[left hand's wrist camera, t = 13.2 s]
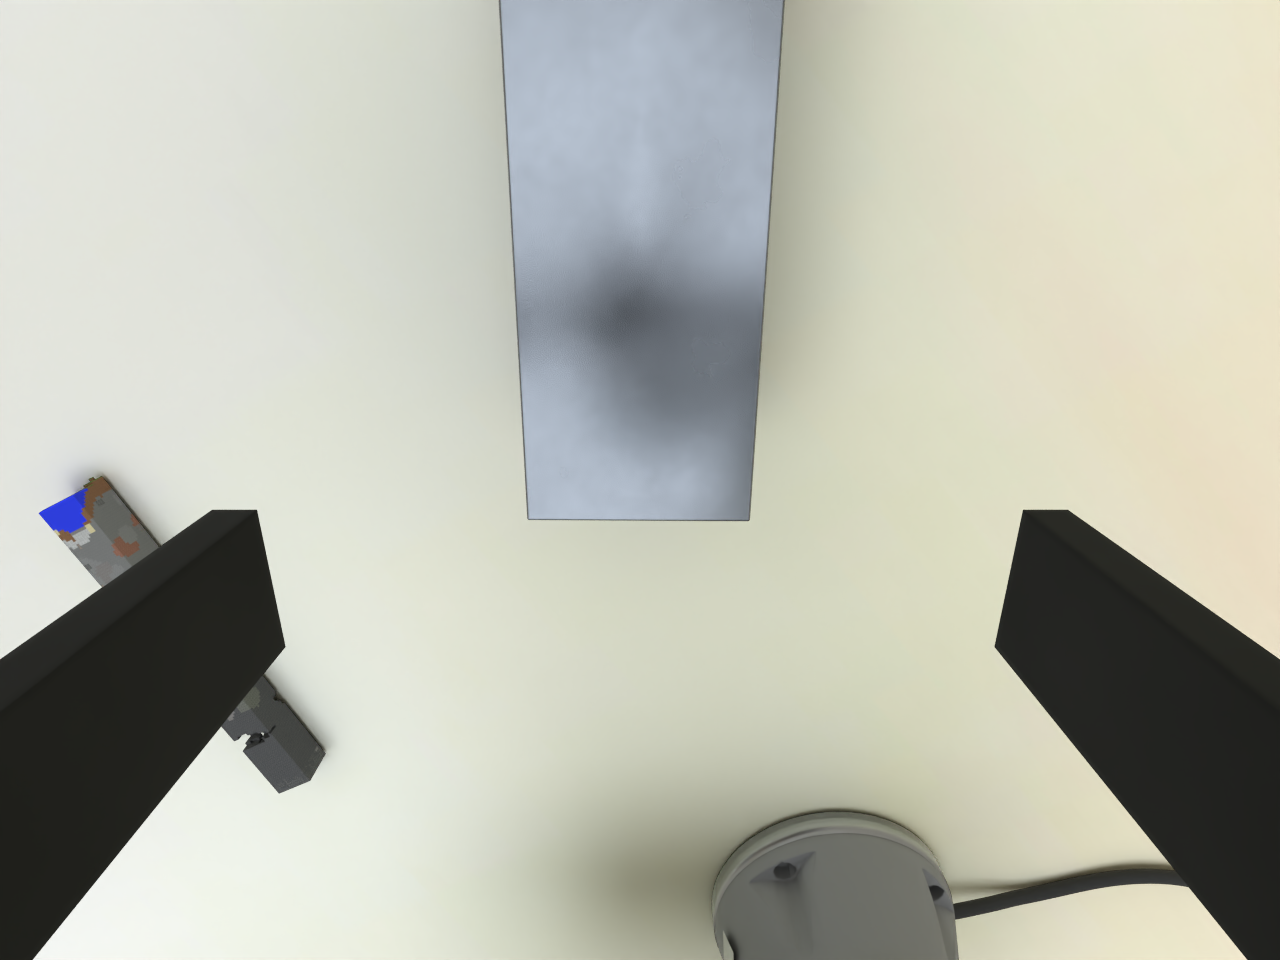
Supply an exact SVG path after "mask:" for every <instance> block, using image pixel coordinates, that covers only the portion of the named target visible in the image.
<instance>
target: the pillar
mask: <svg viewBox="0 0 1280 960" xmlns="http://www.w3.org/2000/svg"><path fill="white" fill-rule="evenodd" d="M89 480H90V482H89V483H88V484H86V485H84V487H85V488H84V489H83V490H81V491H79V492H77V493H75V494H73V495H71V496H70V497H68V498H66V499H64V500H62V501H60V502H58V503H56V504H54V505H52V506H50V507H48V508H47V509H45V510H43V511H41V512H40V513H39V514H40V515H41V517H42V518H43V519H44V520H45V521H46V522H47V524H48V525H49V526H50V527H51V528H52V529H53V531H54V532H55V533H56V534H57V535H58V536H59V538H60V539H61V540H62V541H63V542H64V543H65V545H66V546H67V547H68V548H69V549H70V550H71V552H72V553H73V554H74V555H75V556H76V557H77V559H78V560H79V561H80V562H81V563H82V564H83V566H84V567H85V568H86V569H87V570H88V571H89V572H90V574H91V575H92V576H93V577H94V578H95V579H96V581H97V582H98V583H99V584H100V585H101V586H102V587H104V586H105V585H106V584H108V583H109V582H111V581H112V580H114V579H115V578H116V577H118V576H119V575H121V574H122V573H123V572H125V571H126V570H128V569H129V568H131V567H132V566H133V565H135V564H136V563H138V562H139V561H140V560H142V559H143V558H145V557H146V556H148V555H149V554H150V553H152V552H153V551H155V550H156V549H157V548H159V546H158V545H157V544H156V543H155V541H154V540H153V539H152V538H151V536H150V535H149V534H148V533H147V531H146V530H145V529H144V528H143V527H142V525H141V524H140V523H139V522H138V520H137V519H136V518H135V517H134V515H133V514H132V513H131V512H130V510H129V509H128V508H127V507H126V505H125V504H124V503H123V502H122V500H121V499H120V498H119V497H118V496H117V494H116V493H115V492H114V491H113V489H112V488H111V487H110V486H109V484H108V483H107V482H106V481H105V479H104V478H103V477H102V476H101V477H99V478H97V479H94V477H92V478H90V479H89ZM275 693H276V691H275V690H274V689H273V688H272V686H271V685H270V684H269V683H268V681H267V680H266V679H265V678H264V677H263V675H262V676H261V678H260V679H259V680H258V681H257V683H256V684H255V685H254V686H253V688H252V689H251V690H250V691H249V693H248V694H247V695H246V696H245V697H244V699H243V700H242V701H241V702H240V704H239V705H238V706H237V707H236V709H235V710H234V711H233V712H232V714H231V715H230V716H229V717H228V719H227V720H226V721H225V722H224V723H223V725H222V728H223V729H224V730H225V731H226V732H227V733H228V735H229V736H230V737H231V738H232V739H233V740H234V741H236V740H238V739H239V738H240V737H241V736H242V735H244V734H247V735H251V736H250V738H249V739H248V740H247V742H246V743H245V744H246V745H247V746H246V747H245V749H244V750H243V752H244V753H245V754H246V756H247V757H248V758H249V759H250V760H251V761H252V763H253V764H254V765H255V766H256V767H257V768H258V770H259V771H260V772H261V773H262V774H263V775H264V777H265V778H266V779H267V780H268V781H269V782H270V784H271V785H272V786H273V787H274V788H275V789H276V791H277V792H278V793H282V792H284V791H286V790H289V789H291V788H294V787H296V786H299V785H301V784H303V783H306V782H308V781H310V780H311V778H312V777H313V775H314V773H315V771H316V770H317V768H318V766H319V764H320V763H321V761H322V759H323V757H324V756H325V754H326V753H325V752H324V751H323V750H322V748H321V747H320V746H319V745H318V743H317V742H316V741H315V740H314V739H313V737H312V736H311V735H310V734H309V732H308V731H307V730H306V729H305V727H304V726H303V725H302V724H301V722H300V721H299V720H298V719H297V717H296V716H295V715H294V714H293V712H292V711H291V710H290V709H289V708H288V706H287V705H286V704H285V703H284V702H283V703H282V702H281V701H280V700H279V701H278V700H274V699H273V698H274V697H275ZM261 732H263V733H264V735H262V734H261ZM262 738H263V739H262Z"/></svg>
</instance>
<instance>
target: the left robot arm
mask: <svg viewBox="0 0 1280 960" xmlns="http://www.w3.org/2000/svg"><path fill="white" fill-rule="evenodd" d="M284 648H285V642H284V638H283V633H282V628H281V623H280V618H279V614H278V609H277V604H276V599H275V594H274V590H273V585H272V580H271V575H270V570H269V566H268V561H267V556H266V551H265V546H264V542H263V537H262V532H261V527H260V523H259V518H258V513H257V510H211V511H210V512H208V513H207V514H206V515H204V516H203V517H201V518H200V519H199V520H197V521H196V522H194V523H193V524H191V525H190V526H189V527H187V528H186V529H184V530H183V531H182V532H180V533H179V534H177V535H176V536H174V537H173V538H172V539H170V540H169V541H167V542H166V543H165V544H163V545H162V546H160V547H159V548H157V549H156V550H155V551H153V552H152V553H150V554H149V555H148V556H146V557H145V558H143V559H142V560H140V561H139V562H138V563H136V564H135V565H133V566H132V567H131V568H129V569H128V570H126V571H125V572H123V573H122V574H121V575H119V576H118V577H116V578H115V579H114V580H112V581H111V582H109V583H108V584H106V585H105V586H104V587H102V588H101V589H99V590H98V591H96V592H95V593H94V594H92V595H91V596H89V597H88V598H87V599H85V600H84V601H82V602H81V603H79V604H78V605H77V606H75V607H74V608H72V609H71V610H70V611H68V612H67V613H65V614H64V615H62V616H61V617H60V618H58V619H57V620H55V621H54V622H53V623H51V624H50V625H48V626H47V627H45V628H44V629H43V630H41V631H40V632H38V633H37V634H36V635H34V636H33V637H31V638H30V639H28V640H27V641H26V642H24V643H23V644H21V645H20V646H19V647H17V648H16V649H14V650H13V651H11V652H10V653H9V654H7V655H6V656H4V657H3V658H2V659H0V960H33V959H34V957H35V956H36V955H37V954H38V952H39V951H40V950H41V949H42V947H43V946H44V945H45V944H46V943H47V941H48V940H49V939H50V938H51V936H52V935H53V934H54V933H55V931H56V930H57V929H58V928H59V926H60V925H61V924H62V923H63V921H64V920H65V919H66V918H67V917H68V915H69V914H70V913H71V912H72V910H73V909H74V908H75V907H76V905H77V904H78V903H79V902H80V900H81V899H82V898H83V897H84V895H85V894H86V893H87V892H88V891H89V889H90V888H91V887H92V886H93V884H94V883H95V882H96V881H97V879H98V878H99V877H100V876H101V874H102V873H103V872H104V871H105V869H106V868H107V867H108V866H109V865H110V863H111V862H112V861H113V860H114V858H115V857H116V856H117V855H118V853H119V852H120V851H121V850H122V848H123V847H124V846H125V845H126V844H127V842H128V841H129V840H130V839H131V837H132V836H133V835H134V834H135V832H136V831H137V830H138V829H139V827H140V826H141V825H142V824H143V822H144V821H145V820H146V819H147V818H148V816H149V815H150V814H151V813H152V811H153V810H154V809H155V808H156V806H157V805H158V804H159V803H160V801H161V800H162V799H163V798H164V796H165V795H166V794H167V793H168V792H169V790H170V789H171V788H172V787H173V785H174V784H175V783H176V782H177V780H178V779H179V778H180V777H181V775H182V774H183V773H184V772H185V770H186V769H187V768H188V767H189V766H190V764H191V763H192V762H193V761H194V759H195V758H196V757H197V756H198V754H199V753H200V752H201V751H202V749H203V748H204V747H205V746H206V745H207V743H208V742H209V741H210V740H211V738H212V737H213V736H214V735H215V733H216V732H217V731H218V730H219V728H220V727H221V726H222V725H223V723H224V722H225V721H226V720H227V719H228V717H229V716H230V715H231V714H232V712H233V711H234V710H235V709H236V707H237V706H238V705H239V704H240V702H241V701H242V700H243V699H244V697H245V696H246V695H247V694H248V693H249V691H250V690H251V689H252V688H253V686H254V685H255V684H256V683H257V681H258V680H259V679H260V678H261V676H262V675H263V674H264V673H265V672H266V670H267V669H268V668H269V667H270V665H271V664H272V663H273V662H274V660H275V659H276V658H277V657H278V655H279V654H280V653H281V652H282V650H283V649H284ZM995 648H996V649H997V650H998V652H999V653H1000V654H1001V655H1002V657H1003V658H1004V659H1005V660H1006V662H1007V663H1008V664H1009V665H1010V667H1011V668H1012V669H1013V670H1014V672H1015V673H1016V674H1017V675H1018V676H1019V678H1020V679H1021V680H1022V681H1023V683H1024V684H1025V685H1026V686H1027V688H1028V689H1029V690H1030V691H1031V693H1032V694H1033V695H1034V696H1035V697H1036V699H1037V700H1038V701H1039V702H1040V704H1041V705H1042V706H1043V707H1044V709H1045V710H1046V711H1047V712H1048V714H1049V715H1050V716H1051V717H1052V719H1053V720H1054V721H1055V722H1056V723H1057V725H1058V726H1059V727H1060V728H1061V730H1062V731H1063V732H1064V733H1065V735H1066V736H1067V737H1068V738H1069V740H1070V741H1071V742H1072V743H1073V745H1074V746H1075V747H1076V748H1077V749H1078V751H1079V752H1080V753H1081V754H1082V756H1083V757H1084V758H1085V759H1086V761H1087V762H1088V763H1089V764H1090V766H1091V767H1092V768H1093V769H1094V771H1095V772H1096V773H1097V774H1098V775H1099V777H1100V778H1101V779H1102V780H1103V782H1104V783H1105V784H1106V785H1107V787H1108V788H1109V789H1110V790H1111V792H1112V793H1113V794H1114V795H1115V796H1116V798H1117V799H1118V800H1119V801H1120V803H1121V804H1122V805H1123V806H1124V808H1125V809H1126V810H1127V811H1128V813H1129V814H1130V815H1131V816H1132V818H1133V819H1134V820H1135V821H1136V822H1137V824H1138V825H1139V826H1140V827H1141V829H1142V830H1143V831H1144V832H1145V834H1146V835H1147V836H1148V837H1149V839H1150V840H1151V841H1152V842H1153V844H1154V845H1155V846H1156V847H1157V848H1158V850H1159V851H1160V852H1161V853H1162V855H1163V856H1164V857H1165V858H1166V860H1167V861H1168V862H1169V863H1170V865H1171V866H1172V867H1173V868H1174V869H1175V871H1172V870H1162V869H1127V870H1115V871H1107V872H1100V873H1094V874H1088V875H1083V876H1078V877H1074V878H1069V879H1065V880H1060V881H1056V882H1052V883H1047V884H1043V885H1038V886H1034V887H1029V888H1024V889H1019V890H1014V891H1010V892H1005V893H1001V894H997V895H993V896H989V897H984V898H980V899H975V900H970V901H965V902H961V903H956V904H953V902H952V896H951V892H950V889H949V887H948V884H947V882H946V880H945V877H944V875H943V873H942V871H941V869H940V866H939V864H938V862H937V860H936V858H935V857H934V855H933V853H932V852H931V851H930V849H929V848H928V847H927V845H926V844H925V843H924V842H923V841H922V840H921V839H919V838H918V837H917V836H916V835H914V834H913V833H912V832H910V831H908V830H907V829H905V828H904V827H902V826H900V825H898V824H896V823H893V822H891V821H888V820H886V819H883V818H879V817H876V816H872V815H867V814H862V813H853V812H823V813H814V814H809V815H804V816H800V817H796V818H792V819H789V820H786V821H783V822H780V823H778V824H776V825H773V826H771V827H769V828H767V829H765V830H763V831H761V832H760V833H758V834H756V835H755V836H753V837H752V838H750V839H749V840H748V841H746V842H745V843H744V844H743V845H741V846H740V847H739V848H738V849H737V850H736V851H735V852H734V853H733V854H732V855H731V857H730V858H729V859H728V860H727V862H726V863H725V864H724V866H723V867H722V869H721V871H720V873H719V875H718V877H717V879H716V882H715V885H714V889H713V894H712V913H713V923H714V932H715V938H716V942H717V945H718V948H719V950H720V953H721V956H722V958H723V960H959V957H958V946H957V935H956V925H955V920H956V919H961V918H965V917H970V916H975V915H980V914H985V913H989V912H993V911H998V910H1002V909H1006V908H1010V907H1014V906H1018V905H1023V904H1028V903H1033V902H1037V901H1042V900H1047V899H1051V898H1056V897H1060V896H1065V895H1069V894H1073V893H1078V892H1083V891H1087V890H1093V889H1098V888H1104V887H1110V886H1118V885H1128V884H1171V885H1179V886H1186V887H1189V888H1190V889H1191V891H1192V892H1193V893H1194V894H1195V895H1196V897H1197V898H1198V899H1199V900H1200V902H1201V903H1202V904H1203V905H1204V907H1205V908H1206V909H1207V910H1208V912H1209V913H1210V914H1211V915H1212V917H1213V918H1214V919H1215V920H1216V921H1217V923H1218V924H1219V925H1220V926H1221V928H1222V929H1223V930H1224V931H1225V933H1226V934H1227V935H1228V936H1229V938H1230V939H1231V940H1232V941H1233V943H1234V944H1235V945H1236V946H1237V947H1238V949H1239V950H1240V951H1241V952H1242V954H1243V955H1244V956H1245V957H1246V959H1247V960H1280V659H1278V658H1277V657H1276V656H1274V655H1273V654H1271V653H1270V652H1269V651H1267V650H1266V649H1264V648H1263V647H1261V646H1260V645H1259V644H1257V643H1256V642H1254V641H1253V640H1252V639H1250V638H1249V637H1247V636H1246V635H1244V634H1243V633H1242V632H1240V631H1239V630H1237V629H1236V628H1235V627H1233V626H1232V625H1230V624H1229V623H1227V622H1226V621H1225V620H1223V619H1222V618H1220V617H1219V616H1218V615H1216V614H1215V613H1213V612H1212V611H1210V610H1209V609H1208V608H1206V607H1205V606H1203V605H1202V604H1201V603H1199V602H1198V601H1196V600H1195V599H1193V598H1192V597H1191V596H1189V595H1188V594H1186V593H1185V592H1184V591H1182V590H1181V589H1179V588H1178V587H1176V586H1175V585H1174V584H1172V583H1171V582H1169V581H1168V580H1166V579H1165V578H1164V577H1162V576H1161V575H1159V574H1158V573H1157V572H1155V571H1154V570H1152V569H1151V568H1149V567H1148V566H1147V565H1145V564H1144V563H1142V562H1141V561H1140V560H1138V559H1137V558H1135V557H1134V556H1132V555H1131V554H1130V553H1128V552H1127V551H1125V550H1124V549H1123V548H1121V547H1120V546H1118V545H1117V544H1115V543H1114V542H1113V541H1111V540H1110V539H1108V538H1107V537H1106V536H1104V535H1103V534H1101V533H1100V532H1098V531H1097V530H1096V529H1094V528H1093V527H1091V526H1090V525H1089V524H1087V523H1086V522H1084V521H1083V520H1081V519H1080V518H1079V517H1077V516H1076V515H1074V514H1073V513H1072V512H1070V511H1069V510H1023V513H1022V518H1021V523H1020V527H1019V532H1018V537H1017V542H1016V546H1015V551H1014V556H1013V561H1012V566H1011V570H1010V575H1009V580H1008V585H1007V590H1006V594H1005V599H1004V604H1003V609H1002V614H1001V618H1000V623H999V628H998V633H997V638H996V642H995Z"/></svg>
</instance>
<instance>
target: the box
mask: <svg viewBox="0 0 1280 960" xmlns="http://www.w3.org/2000/svg"><path fill="white" fill-rule="evenodd" d="M784 5H785V0H499V13H500V31H501V49H502V68H503V86H504V104H505V122H506V140H507V158H508V176H509V194H510V212H511V230H512V248H513V267H514V285H515V303H516V321H517V339H518V357H519V375H520V393H521V411H522V429H523V447H524V466H525V484H526V502H527V518H528V520H654V521H749V520H750V510H751V495H752V480H753V465H754V451H755V436H756V421H757V406H758V391H759V376H760V361H761V347H762V332H763V317H764V302H765V287H766V272H767V258H768V243H769V228H770V213H771V198H772V183H773V168H774V154H775V139H776V124H777V109H778V94H779V79H780V65H781V50H782V35H783V20H784Z"/></svg>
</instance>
